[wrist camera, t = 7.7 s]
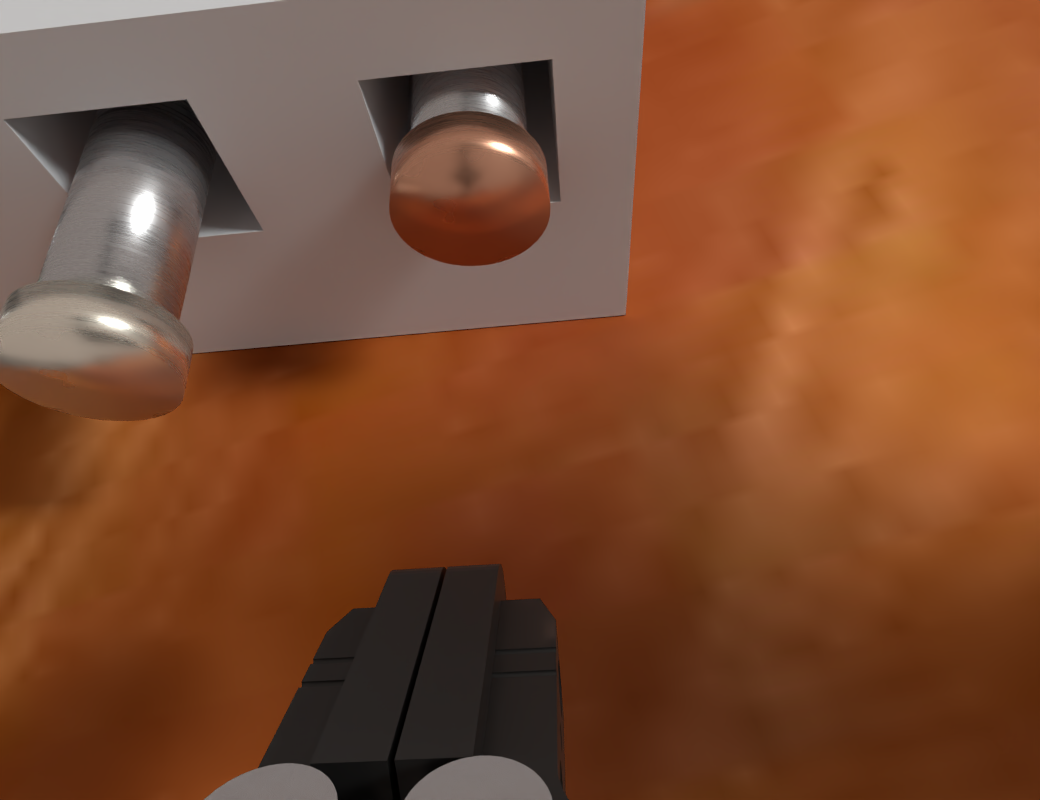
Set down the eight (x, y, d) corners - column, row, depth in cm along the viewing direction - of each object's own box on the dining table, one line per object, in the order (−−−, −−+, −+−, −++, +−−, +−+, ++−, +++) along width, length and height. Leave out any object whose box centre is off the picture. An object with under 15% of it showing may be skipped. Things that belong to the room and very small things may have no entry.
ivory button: (213, 414, 16) (123, 323, 13) (61, 426, 17) (-63, 340, 14) (264, 132, 21) (206, 15, 18) (144, 145, 21) (65, 31, 18)
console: (625, 315, 24) (648, -43, 14) (-72, 377, 25) (-521, 94, 15) (591, 73, 29) (589, -302, 19) (27, 134, 31) (-248, -186, 21)
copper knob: (554, 258, 18) (545, 142, 15) (409, 272, 18) (370, 161, 15) (534, 24, 22) (524, -103, 19) (418, 37, 22) (389, -87, 19)
